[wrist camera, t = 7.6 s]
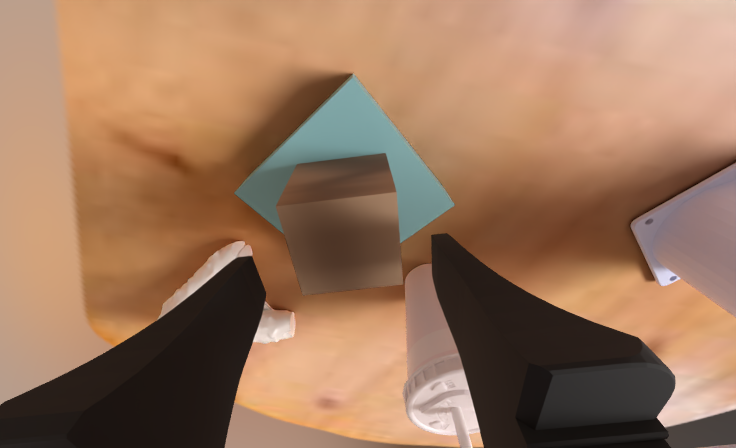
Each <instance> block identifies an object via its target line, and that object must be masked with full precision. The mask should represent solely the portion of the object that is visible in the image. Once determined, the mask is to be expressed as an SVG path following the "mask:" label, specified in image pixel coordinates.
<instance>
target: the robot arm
mask: <svg viewBox="0 0 736 448" xmlns="http://www.w3.org/2000/svg"><path fill="white" fill-rule="evenodd" d="M631 229H632V231H633V233H634V235H635V238H636V240H637V242H638V244H639V246H640V248H641V250H642V253H643V255H644V257H645V259H646V261H647V263H648V265H649V268H650V270H651V272H652V274H653V276H654V278H655V280H656V282H657V283H658V284H659V285H661V286H666V285H669V284H671V283H673V282H675V281H677V280H679V279H682V280H684V281H685V282H687V283H688V284H689V285H691V286H692V287H694V288H695V289H696V290H698V291H699V292H701V293H702V294H703V295H705V296H706V297H708V298H709V299H710V300H712V301H713V302H715V303H716V304H717V305H719V306H720V307H722V308H723V309H724V310H726V311H727V312H729V313H730V314H731V315H733V316H734V317H736V163H734V164H733V165H731V166H729V167H727V168H725V169H724V170H722V171H720V172H718V173H716V174H715V175H713V176H711V177H709V178H708V179H706V180H704V181H702V182H700V183H699V184H697V185H695V186H693V187H692V188H690V189H688V190H686V191H684V192H683V193H681V194H679V195H677V196H676V197H674V198H672V199H670V200H668V201H667V202H665V203H663V204H661V205H659V206H658V207H656V208H654V209H652V210H651V211H649V212H647V213H645V214H643V215H642V216H640V217H638V218H636V219H635V220H633V221H632V223H631ZM431 240H432V278H433V282H434V286H435V290H436V294H437V298H438V300H439V303H440V306H441V308H442V311H443V313H444V316H445V319H446V321H447V324H448V326H449V329H450V331H451V334H452V336H453V339H454V342H455V344H456V347H457V350H458V352H459V355H460V358H461V362H462V365H463V369H464V373H465V376H466V380H467V383H468V387H469V391H470V395H471V398H472V402H473V406H474V410H475V413H476V417H477V421H478V425H479V429H480V433H481V437H482V441H483V445H484V448H671V447H670V446H669V445H668V443H667V442H666V441H665V439H667V438H668V436H669V434H668V431H667V430H666V429H665V427H664V426H663V425H662V424H661V422H660V421H659V420H658V419H657V418H656V417H657V416H658V414H659V413H660V411H661V410H662V409H663V407H664V406H665V404H666V403H667V401H668V400H669V399H670V397H671V395H672V393H673V391H674V389H675V376H674V374H673V373H672V372H671V370H670V369H669V368H668V367H667V366H666V365H665V364H664V363H663V362H662V361H661V360H660V359H659V358H658V357H657V356H656V355H655V354H654V353H653V352H652V351H651V350H650V349H649V348H648V347H647V346H646V345H645V344H644V343H643V342H642V341H641V340H640V339H639V338H638V337H635V336H632V335H629V334H626V333H623V332H620V331H617V330H615V329H612V328H609V327H606V326H603V325H600V324H597V323H594V322H592V321H589V320H587V319H584V318H582V317H579V316H577V315H575V314H572V313H570V312H567V311H565V310H563V309H561V308H558V307H556V306H554V305H552V304H550V303H548V302H546V301H544V300H542V299H540V298H538V297H536V296H534V295H532V294H530V293H528V292H526V291H525V290H523V289H521V288H519V287H518V286H516V285H514V284H513V283H511V282H509V281H508V280H506V279H504V278H503V277H501V276H500V275H498V274H497V273H496V272H494V271H493V270H491V269H490V268H488V267H487V266H486V265H484V264H483V263H482V262H481V261H479V260H478V259H477V258H475V257H474V256H473V255H472V254H471V253H469V252H468V251H467V250H466V249H465V248H463V247H462V246H461V245H460V244H459V243H458V242H457V241H455V240H454V239H453V238H452V237H451V236H450V235H448V234H447V233H446V234H437V235H431ZM265 298H266V291H265V289H264V286H263V284H262V281H261V278H260V276H259V273H258V271H257V268H256V266H255V263H254V260H253V258H252V256H244V257H237V258H235V259H234V260H232V261H231V262H230V263H229V264H227V265H226V266H225V267H224V268H222V269H221V270H220V271H219V272H218V273H216V274H215V275H214V276H213V277H212V278H211V279H209V280H208V281H207V282H206V283H205V284H203V285H202V286H201V287H200V288H199V289H197V290H196V291H195V292H194V293H192V294H191V295H190V296H189V297H187V298H186V299H185V300H184V301H182V302H181V303H180V304H178V305H177V306H176V307H175V308H173V309H172V310H171V311H169V312H168V313H167V314H165V315H164V316H162V317H161V318H160V319H158V320H157V321H155V322H154V323H152V324H151V325H149V326H148V327H146V328H145V329H143V330H142V331H140V332H139V333H137V334H135V335H134V336H132V337H130V338H129V339H127V340H125V341H124V342H122V343H120V344H119V345H117V346H115V347H114V348H112V349H110V350H109V351H107V352H105V353H103V354H102V355H100V356H98V357H96V358H94V359H93V360H91V361H89V362H87V363H85V364H83V365H81V366H79V367H77V368H75V369H74V370H72V371H70V372H68V373H66V374H64V375H62V376H60V377H58V378H55V379H54V380H52V381H49V382H47V383H45V384H43V385H41V386H38V387H36V388H34V389H32V390H30V391H28V392H25V393H23V394H21V395H19V396H17V397H14V398H12V399H10V400H8V401H5V402H4V403H3V404H1V405H0V448H224V447H225V442H226V437H227V432H228V427H229V422H230V418H231V414H232V409H233V405H234V401H235V397H236V393H237V388H238V384H239V381H240V377H241V374H242V371H243V368H244V365H245V362H246V359H247V357H248V354H249V351H250V348H251V346H252V343H253V340H254V337H255V335H256V332H257V329H258V326H259V323H260V320H261V317H262V313H263V309H264V304H265ZM700 448H736V444H733V445H723V446H710V447H700Z"/></svg>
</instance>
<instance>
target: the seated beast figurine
mask: <svg viewBox="0 0 736 448" xmlns="http://www.w3.org/2000/svg"><path fill="white" fill-rule="evenodd" d="M244 244H245V242H244V241H237V242H233V243H230V244H228V245H227V246H225V247H222V248H221V249H220V250H217V251H216V252H215V253H214V254H213V255H211V256H210V257H209V258H208V260H207V262H205V263H204V265H203V266H202V267H201V268H199V269H198V270H197V272H195V273H194V276H193V277H191V278H189V279H188V281H187V283H184V284H183V285H182V287H181V288H180V289H177V290H176V291H175V293H174V295H173V296H172V297H170V298H169V299H167V301H166V302H164V303H163V306H162V311H161V314H160V316H159V317H158V319H160V318H161V317H162V316H164V315H165V314H167V313H168V312H169V311H171V310H172V309H173V308H175V307H176V306H177V305H178V304H180V303H181V302H182V301H184V300H185V299H186V298H187V297H189V296H190V295H191V294H192V293H194V292H195V291H196V290H197V289H199V288H200V287H201V286H202V285H203V284H205V283H206V282H207V281H208V280H209V279H211V278H212V277H213V276H214V275H215V274H216V273H218V272H219V271H220V270H221V269H222V268H224V267H225V266H226V265H227V264H229V263H230V262H231V261H232V260H234V259H235V258H237V257H244V256H252V255H253V252H252V249H251V246H250V245H244ZM294 314H295V313H294V312H290V311H288V310H274V309H273V308H272V307H271V306H270V305H269V304H268V303H267V302H266V301H265V304H264V309H263V313H262V317H261V320H260V323H259V326H258V329H257V332H256V335H255V337H254V340H253V342H259V343H263V344H266V343H269V342H278V341H279V340H281V339H287V338H291V337H293V336H294V333H295V318H294ZM158 319H157V320H158Z"/></svg>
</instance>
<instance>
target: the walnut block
mask: <svg viewBox="0 0 736 448" xmlns="http://www.w3.org/2000/svg"><path fill="white" fill-rule="evenodd" d="M276 209H277V213H278V216H279V219H280V223H281V226H282V229H283V232H284V236H285V239H286V242H287V246H288V249H289V252H290V255H291V259H292V262H293V265H294V269H295V272H296V275H297V278H298V282H299V285H300V288H301V292H302V295H313V294H322V293H331V292H340V291H349V290H358V289H367V288H376V287H386V286H395V285H403V274H402V260H401V246H400V232H399V218H398V204H397V192H396V188H395V184H394V181H393V177H392V174H391V170H390V166H389V163H388V159H387V156H386V153H382V154H374V155H366V156H358V157H350V158H341V159H333V160H325V161H317V162H309V163H300V164H297V165H296V167H295V169H294V171H293V173H292V175H291V177H290V179H289V181H288V183H287V185H286V187H285V189H284V191H283V193H282V195H281V197H280V199H279V201H278V203H277V205H276Z"/></svg>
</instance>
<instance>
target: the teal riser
mask: <svg viewBox="0 0 736 448" xmlns="http://www.w3.org/2000/svg"><path fill="white" fill-rule="evenodd" d="M382 153H386V156H387V159H388V163H389V166H390V170H391V174H392V177H393V181H394V184H395V188H396V192H397V204H398V218H399V232H400V243H402V242H403V241H405V240H406V239H407V238H409V237H410V236H412V235H413V234H414V233H416V232H417V231H419V230H420V229H422V228H423V227H424V226H426V225H427V224H429V223H430V222H432V221H433V220H434V219H436V218H437V217H439V216H440V215H442V214H443V213H444V212H446V211H447V210H449V209H450V208H452V207H453V206H454V205H455V204H454V203H453V201H452V199H451V198H450V196H449V195H448V193H447V191H446V190H445V188H444V187H443V186H442V184H441V183H440V182H439V181H438V179H437V178H436V177H435V176H434V174H433V173H432V172H431V171H430V169H429V168H428V167H427V166H426V164H425V163H424V162H423V160H422V159H421V158H420V157H419V155H418V154H417V153H416V152H415V150H414V149H413V148H412V147H411V145H410V144H409V143H408V142H407V140H406V139H405V138H404V137H403V135H402V134H401V133H400V132H399V130H398V129H397V128H396V127H395V125H394V124H393V123H392V121H391V120H390V119H389V118H388V116H387V115H386V114H385V113H384V111H383V110H382V109H381V108H380V106H379V105H378V104H377V103H376V101H375V100H374V99H373V98H372V96H371V95H370V94H369V93H368V91H367V90H366V89H365V87H364V86H363V85H362V84H361V82H360V81H359V80H358V79H357V77H356V76H355V75H354V74H352V75H351V76H350V77H349V78H348V79H347V80H346V81H345V82H344V83H343V84H342V85H341V86H340V87H339V88H338V89H337V90H336V91H335V92H334V93H333V94H332V95H331V96H330V97H328V98H327V99H326V100H325V101H324V102H323V103H322V104H321V105H320V106H319V107H318V108H317V109H316V110H315V111H314V112H313V113H312V114H311V115H310V116H309V117H308V118H307V119H306V120H305V121H304V122H303V123H302V124H301V125H300V126H299V127H298V128H297V129H296V130H295V131H294V132H293V133H292V134H291V135H290V136H289V137H288V138H287V139H286V140H285V141H284V142H283V143H282V144H281V145H280V146H279V147H278V148H277V149H276V150H274V151H273V152H272V153H271V154H270V155H269V156H268V157H267V158H266V159H265V160H264V161H263V162H262V163H261V164H260V165H259V166H258V167H257V168H256V169H255V170H254V171H253V172H252V173H251V174H250V175H249V176H248V177H247V178H246V179H245V181H244V182H243V183H242V184H241V185H240V187H239V188H238V189H237V190H236V191H235V193H234V194H235V195H237V196H238V197H239V198H240V199H241V200H243V201H244V202H245V203H246V204H248V205H249V206H250V207H251V208H252V209H254V210H255V211H256V212H257V213H259V214H260V215H261V216H262V217H263V218H265V219H266V220H267V221H268V222H269V223H271V224H272V225H273V226H274V227H276V228H277V229H278V230H279V231H280V232H282V233H283V234H284V232H283V229H282V226H281V223H280V219H279V216H278V213H277V209H276V205H277V203H278V201H279V199H280V197H281V195H282V193H283V191H284V189H285V187H286V185H287V183H288V181H289V179H290V177H291V175H292V173H293V171H294V169H295V167H296V165H297V164H300V163H309V162H317V161H325V160H333V159H341V158H350V157H358V156H366V155H374V154H382Z"/></svg>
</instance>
